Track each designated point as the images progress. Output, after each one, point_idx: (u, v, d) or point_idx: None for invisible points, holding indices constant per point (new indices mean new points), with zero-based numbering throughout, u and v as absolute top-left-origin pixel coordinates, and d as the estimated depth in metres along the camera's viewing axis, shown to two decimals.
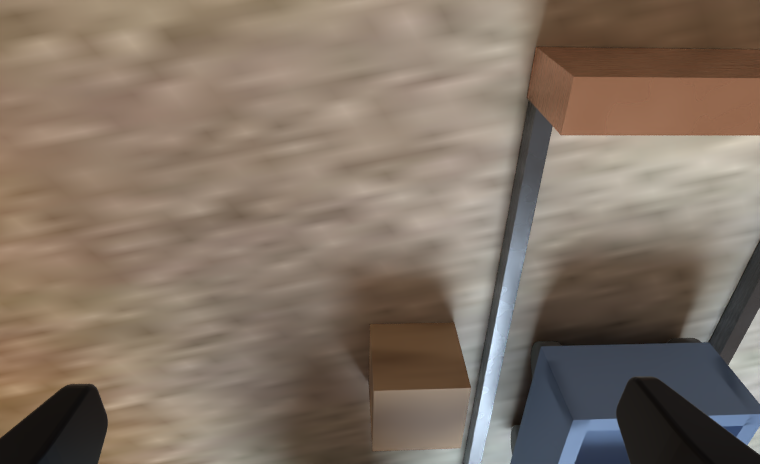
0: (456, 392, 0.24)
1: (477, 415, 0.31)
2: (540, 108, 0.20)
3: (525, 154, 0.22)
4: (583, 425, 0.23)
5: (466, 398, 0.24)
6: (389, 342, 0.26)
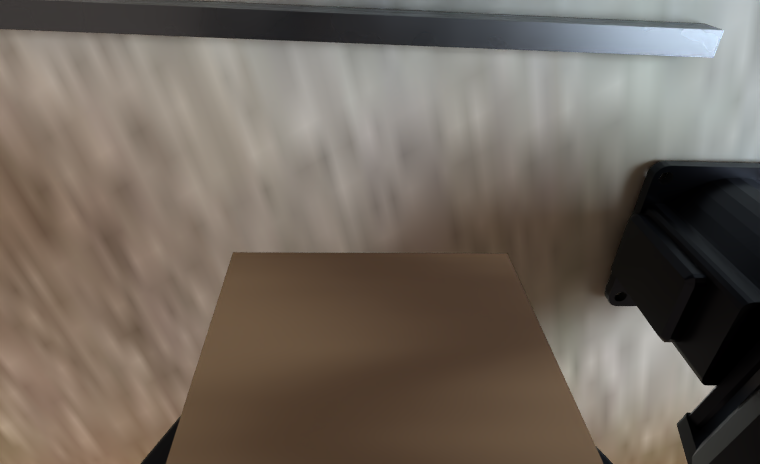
0: None
1: (497, 47, 0.16)
2: None
3: None
4: None
5: None
6: None
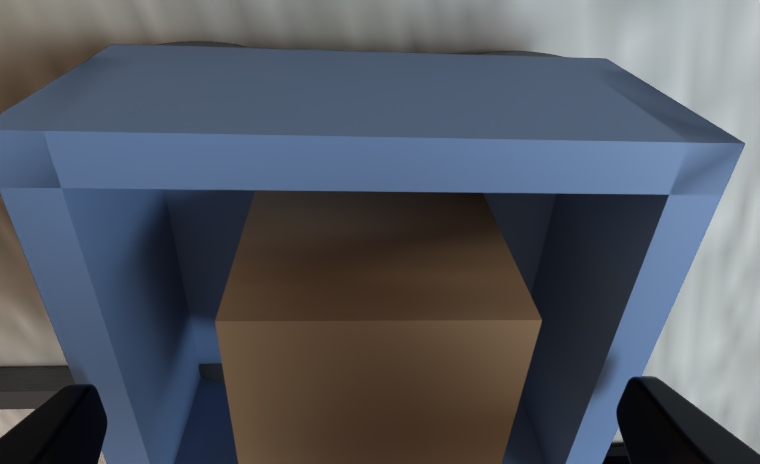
0: (240, 356, 0.07)
1: None
2: None
3: None
4: None
5: (269, 328, 0.07)
6: None
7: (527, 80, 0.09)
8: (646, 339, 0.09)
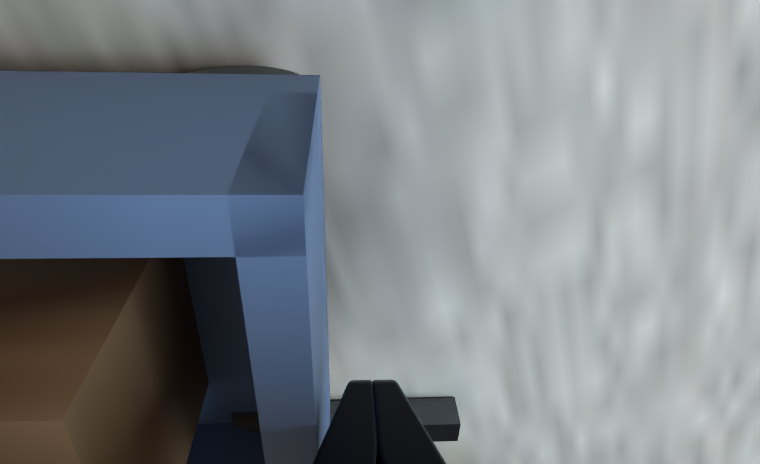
0: None
1: None
2: None
3: None
4: None
5: None
6: None
7: (164, 106, 0.08)
8: (301, 419, 0.07)
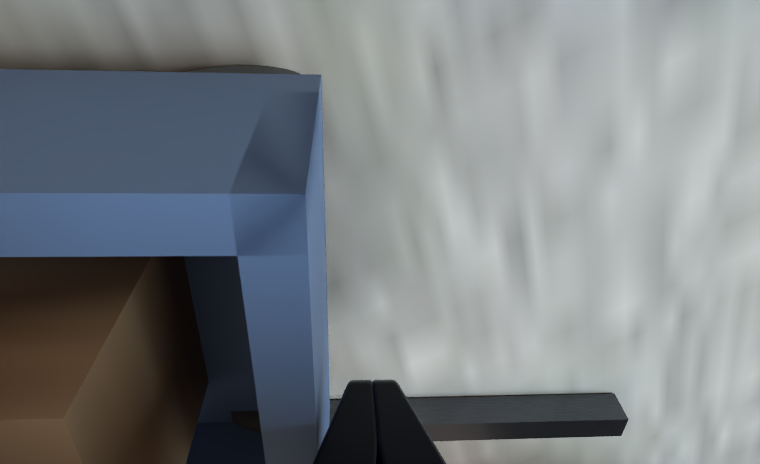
0: None
1: None
2: None
3: None
4: None
5: None
6: None
7: (165, 105, 0.08)
8: (301, 418, 0.07)
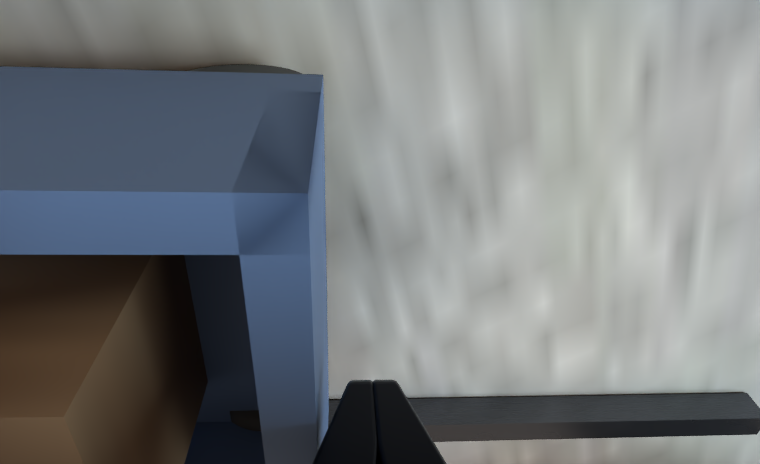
0: None
1: None
2: None
3: None
4: None
5: None
6: None
7: (167, 104, 0.08)
8: (302, 418, 0.07)
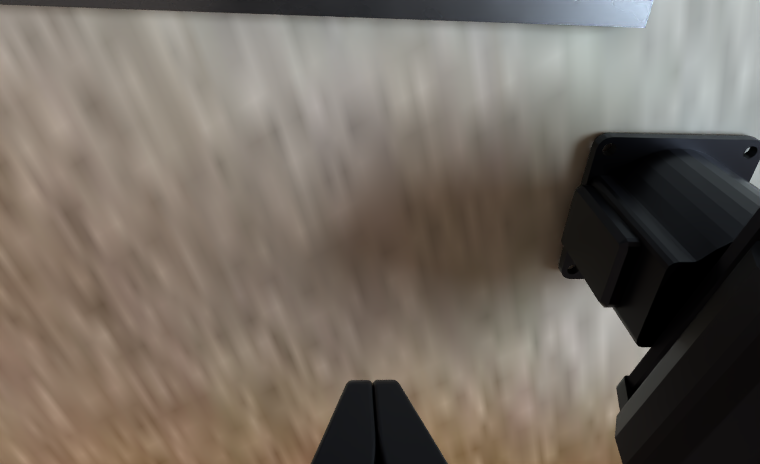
0: None
1: (433, 18, 0.16)
2: None
3: None
4: None
5: None
6: None
7: None
8: None
